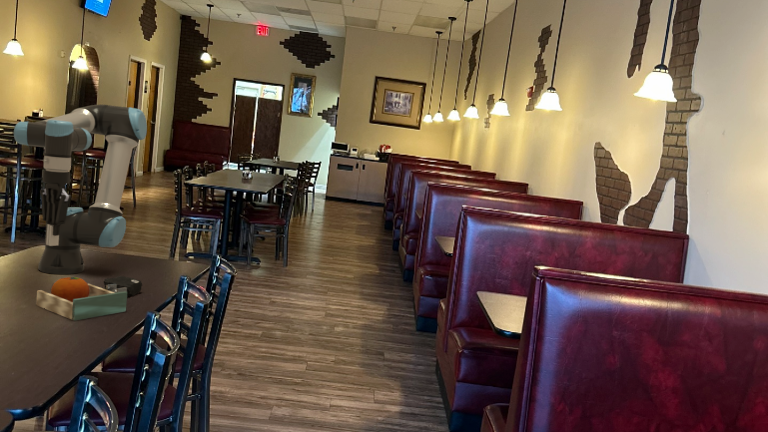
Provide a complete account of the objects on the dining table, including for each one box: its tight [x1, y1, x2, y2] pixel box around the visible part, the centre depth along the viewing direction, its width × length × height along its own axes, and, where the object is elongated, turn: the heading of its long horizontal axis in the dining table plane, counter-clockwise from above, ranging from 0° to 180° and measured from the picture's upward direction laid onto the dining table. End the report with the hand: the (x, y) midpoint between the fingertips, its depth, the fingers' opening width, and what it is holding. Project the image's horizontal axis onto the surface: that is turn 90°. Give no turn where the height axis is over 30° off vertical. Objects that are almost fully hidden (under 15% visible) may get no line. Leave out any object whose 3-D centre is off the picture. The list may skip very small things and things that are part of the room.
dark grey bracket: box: [106, 284, 127, 293], centre depth 205 cm, size 6×4×6 cm, turn 58°
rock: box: [103, 275, 143, 297], centre depth 217 cm, size 9×10×6 cm
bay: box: [35, 283, 128, 322], centre depth 196 cm, size 19×17×6 cm
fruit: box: [50, 276, 90, 302], centre depth 199 cm, size 11×10×8 cm
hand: (52, 244), depth 203 cm, fingers closed
